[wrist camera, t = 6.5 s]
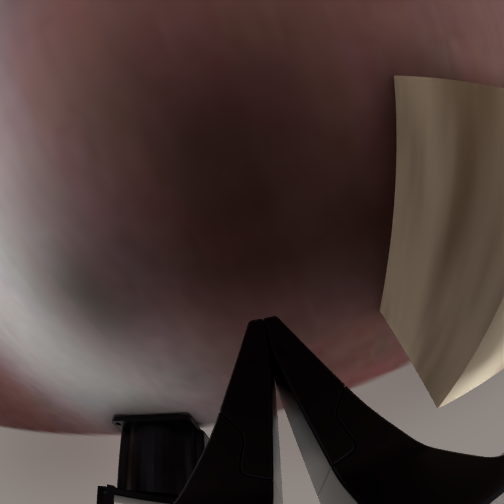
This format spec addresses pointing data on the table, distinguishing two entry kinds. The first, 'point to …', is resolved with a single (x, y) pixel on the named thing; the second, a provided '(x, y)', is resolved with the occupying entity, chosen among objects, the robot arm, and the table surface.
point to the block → (448, 233)
